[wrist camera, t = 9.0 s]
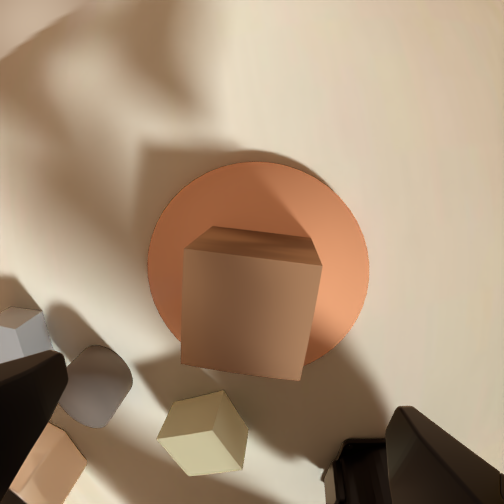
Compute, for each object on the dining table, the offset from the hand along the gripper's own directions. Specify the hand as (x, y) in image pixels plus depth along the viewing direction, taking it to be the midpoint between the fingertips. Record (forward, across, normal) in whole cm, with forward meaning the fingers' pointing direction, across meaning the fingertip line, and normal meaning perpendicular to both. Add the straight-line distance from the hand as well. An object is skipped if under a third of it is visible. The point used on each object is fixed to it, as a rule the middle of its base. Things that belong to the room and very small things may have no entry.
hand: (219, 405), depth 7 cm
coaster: (+11, 0, 0) cm, 11 cm away
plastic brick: (+11, +17, +8) cm, 22 cm away
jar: (+11, +19, +22) cm, 31 cm away
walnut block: (+10, 0, 0) cm, 10 cm away
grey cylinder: (+11, +10, +9) cm, 17 cm away
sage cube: (+11, +2, +11) cm, 16 cm away
